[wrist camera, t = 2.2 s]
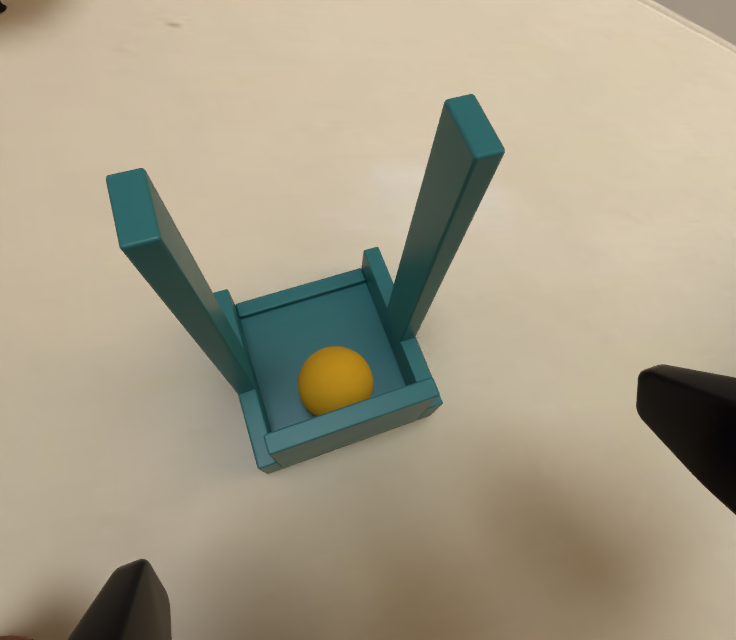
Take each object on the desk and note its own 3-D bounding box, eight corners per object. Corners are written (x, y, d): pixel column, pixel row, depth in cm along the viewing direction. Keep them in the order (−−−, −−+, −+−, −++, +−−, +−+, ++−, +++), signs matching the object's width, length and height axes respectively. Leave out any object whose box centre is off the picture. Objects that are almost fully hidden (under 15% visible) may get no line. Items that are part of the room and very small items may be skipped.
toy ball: (382, 387, 21) (394, 378, 18) (333, 438, 20) (337, 438, 17) (334, 339, 21) (338, 323, 18) (283, 387, 20) (279, 378, 17)
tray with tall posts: (431, 415, 21) (579, 275, 8) (266, 474, 20) (151, 412, 7) (373, 272, 23) (421, -2, 11) (223, 315, 22) (79, 60, 9)
